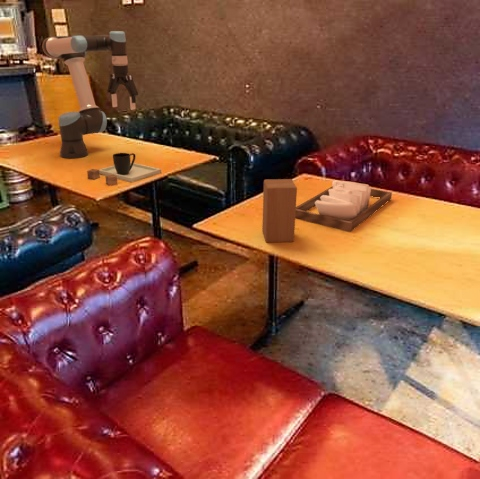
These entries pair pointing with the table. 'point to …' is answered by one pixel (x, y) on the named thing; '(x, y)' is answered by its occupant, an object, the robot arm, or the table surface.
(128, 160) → the mug
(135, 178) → the tray
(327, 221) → the book corral
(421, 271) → the table surface
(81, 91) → the robot arm
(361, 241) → the table surface
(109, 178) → the walnut cube
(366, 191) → the white wavy slab sculpture
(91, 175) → the walnut cube
